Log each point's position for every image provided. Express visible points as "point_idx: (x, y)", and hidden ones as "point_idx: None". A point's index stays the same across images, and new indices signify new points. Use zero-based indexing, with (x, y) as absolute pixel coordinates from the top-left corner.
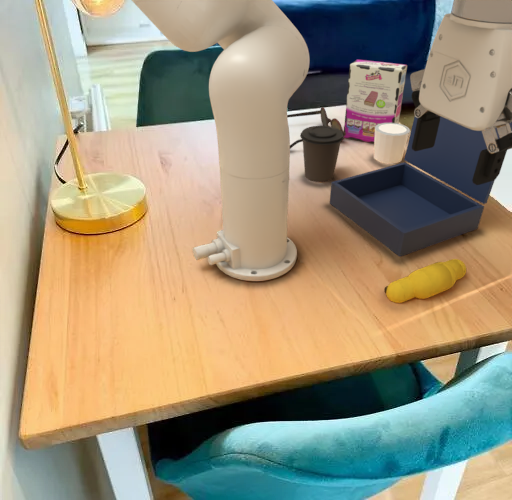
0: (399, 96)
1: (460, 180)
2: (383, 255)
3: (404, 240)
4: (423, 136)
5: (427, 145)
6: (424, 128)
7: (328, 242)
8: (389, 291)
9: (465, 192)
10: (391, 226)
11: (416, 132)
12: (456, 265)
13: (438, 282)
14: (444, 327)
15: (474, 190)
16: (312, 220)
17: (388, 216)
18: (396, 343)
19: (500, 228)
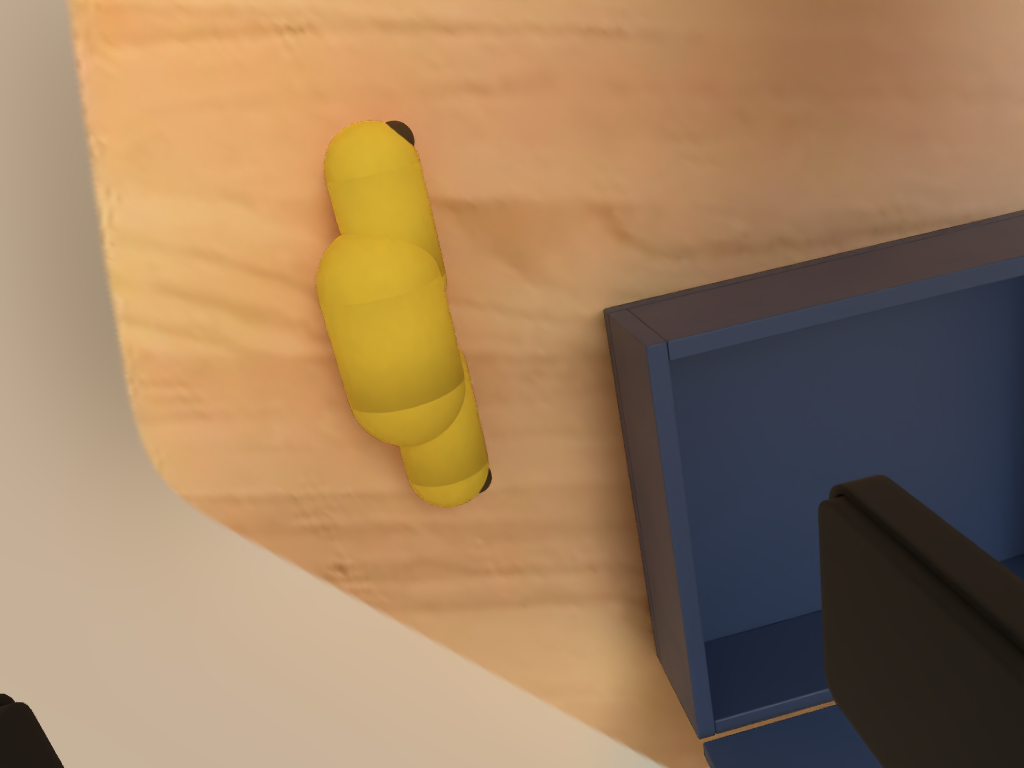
0: None
1: (860, 740)
2: (654, 265)
3: (633, 344)
4: (917, 648)
5: (840, 638)
6: (1001, 723)
7: (825, 72)
8: (366, 125)
9: (799, 721)
10: (723, 323)
11: (1005, 597)
12: (428, 468)
13: (336, 341)
14: (183, 272)
15: (776, 754)
16: (1002, 75)
17: (866, 402)
18: (124, 33)
19: (646, 733)
